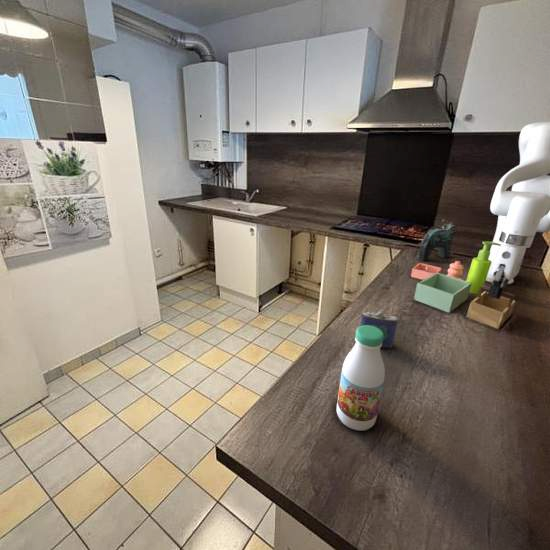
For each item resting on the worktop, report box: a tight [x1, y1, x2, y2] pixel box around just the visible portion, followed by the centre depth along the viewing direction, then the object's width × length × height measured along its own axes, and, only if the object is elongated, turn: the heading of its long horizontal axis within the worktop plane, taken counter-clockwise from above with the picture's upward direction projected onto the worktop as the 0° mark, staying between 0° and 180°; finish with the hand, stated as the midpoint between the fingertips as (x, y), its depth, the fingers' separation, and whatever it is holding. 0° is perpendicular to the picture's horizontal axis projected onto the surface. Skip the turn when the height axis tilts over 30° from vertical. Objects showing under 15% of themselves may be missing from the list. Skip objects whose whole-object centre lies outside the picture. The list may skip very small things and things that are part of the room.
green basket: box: [413, 273, 472, 314], centre depth 104 cm, size 16×12×7 cm
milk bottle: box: [336, 325, 386, 432], centre depth 54 cm, size 8×8×20 cm
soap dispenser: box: [465, 241, 500, 295], centre depth 109 cm, size 6×7×20 cm
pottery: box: [410, 260, 464, 281], centre depth 120 cm, size 18×10×10 cm, turn 49°
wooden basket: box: [465, 284, 517, 330], centre depth 93 cm, size 13×9×10 cm
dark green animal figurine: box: [418, 218, 458, 262], centre depth 144 cm, size 20×6×20 cm, turn 114°
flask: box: [359, 309, 399, 349], centre depth 78 cm, size 9×3×11 cm, turn 74°
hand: (495, 295), depth 92 cm, fingers open, 3 cm apart
